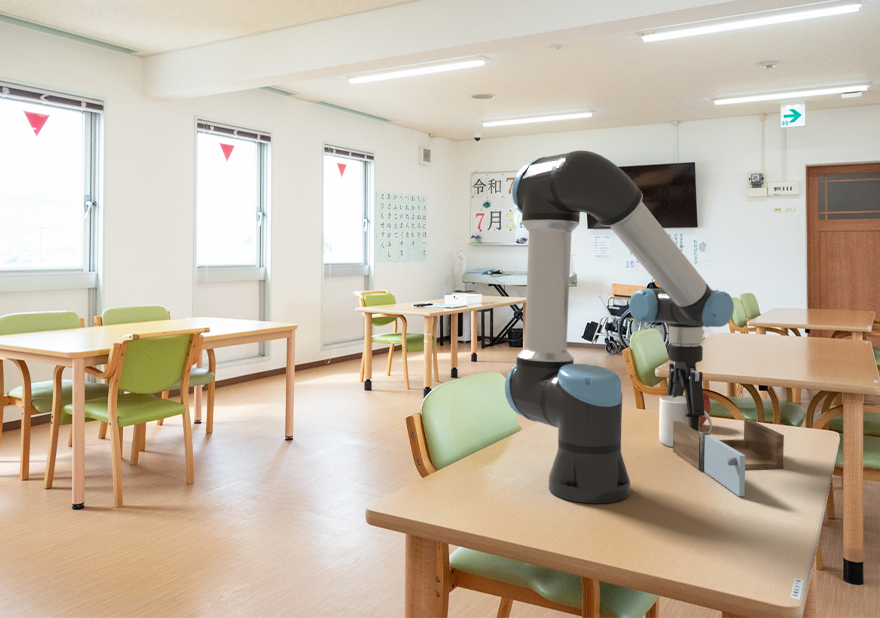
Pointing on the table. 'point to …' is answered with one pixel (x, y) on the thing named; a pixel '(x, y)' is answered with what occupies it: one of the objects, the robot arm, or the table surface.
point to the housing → (732, 445)
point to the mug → (673, 417)
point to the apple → (706, 408)
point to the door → (725, 465)
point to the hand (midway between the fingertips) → (684, 438)
